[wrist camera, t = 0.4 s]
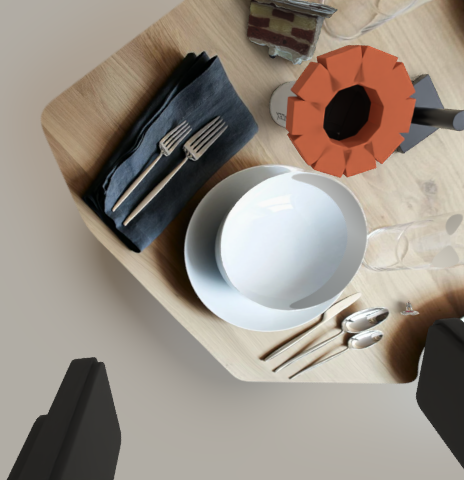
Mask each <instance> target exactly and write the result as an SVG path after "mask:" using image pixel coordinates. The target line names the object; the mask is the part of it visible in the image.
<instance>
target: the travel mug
mask: <svg viewBox="0 0 464 480" xmlns="http://www.w3.org/2000/svg"><path fill="white" fill-rule="evenodd" d="M295 83H296V81H295V82H287V83H284V84H282V85H280V86H279V87H278V88H277V89H276V90H275V91H274V92H273V94H272V96H271V99H270V103H269V109H270V114H271V116H272V118H273V120H274V121H275V122H276V123H277V124H279V125H280V126H282V127H285V128H286V115H287V100H288V97H289V96H297V95H295V94H294V93H293V92H292V91H291V88H292V87H293V85H294V84H295ZM370 106H371V101H370V99H369V97H368V95H367V93H366V91H365V89H364V87H363V86H360V85H358V84H356V85H353V86H351V87H348V88H345V89H342V90H339V91H338V92H337V93H336V95H335V96H334V97H333V98H332V100H331V101H330V102H329V104H328V105H327V106H326V107H325V113H324V122H323V129H324V130H325V132H326V134H327V135H328V137H329V138H331V139H334V140H338V141H340V140H343V139H346V138H349V137H352V136H355V135H356V134H357V133H358V132H359V131H360V130H361V128H362V127H363V126H364V125H365V124H366V122H367V121H368V118H369V112H370Z"/></svg>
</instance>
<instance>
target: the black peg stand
mask: <svg viewBox="0 0 464 480" xmlns="http://www.w3.org/2000/svg"><path fill="white" fill-rule="evenodd" d="M412 85H413V87H414V89H415V93H414V94H412V95H411V96H409V97H411V98H414V99H416V102H415V106H414V111H413V115H412V119H411V124H410V128H409V132H408V133H399V134H400V135H401V136H402V137H404V141H403V142H402V143H401V144H400V145H399V146H398V147H397V150H398V152H400V153H405V152H407V151H408V150H409V149H411V148H412V147H414V146H415V145H416V144H418V143H419V142H421V141H422V140H423V139H425V138H426V137H428V136H429V135H430V134H432V133H433V132H435V131H436V130H437V129H439V128H443V129H450V130H456V131H462V130H464V110H453V109H444V107H443V105H442V103H441V101H440V98H439V96H438V94H437V92H436V89H435V87H434V85H433V83H432V81H431V78H430V76H429V74H425V75H421V76H420V77H419V78H417V79H416V80H415V81H413V82H412Z"/></svg>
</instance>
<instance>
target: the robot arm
mask: <svg viewBox="0 0 464 480" xmlns="http://www.w3.org/2000/svg"><path fill="white" fill-rule="evenodd" d="M416 399H417V403H418V405H419V407H420V409H421V410H422V411H423V413H424V414H425V416H426V417H427V419H428V420H429V421H430V423H431V424H432V425H433V427H434V428H435V429H436V431H437V432H438V434H439V435H440V436H441V438H442V439H443V440H444V442H445V444H446V445H447V446H448V448H449V449H450V450H451V452H452V453H453V455H454V456H455V457H456V459H457V460H458V462H459V463H460V464H461V466H462V467H463V468H464V322H463V321H462V320H460V319H458V318H450V319H441V320H436V321H435V322H434V323H433V326H430V327H429V330H428V334H427V340H426V345H425V350H424V355H423V361H422V366H421V371H420V376H419V382H418V388H417V392H416ZM120 445H121V431H120V427H119V423H118V419H117V414H116V410H115V406H114V402H113V398H112V394H111V390H110V385H109V381H108V377H107V373H106V369H105V365H104V363H103V362H98V361H97V359H96V358H95V357H92V358H82V359H74V360H72V362H71V363H70V366H69V368H68V370H67V372H66V375H65V377H64V379H63V381H62V383H61V386H60V388H59V390H58V392H57V394H56V397H55V399H54V401H53V403H52V406H51V408H50V410H49V412H48V414H47V415H41V416H39V417H38V418H37V420H36V421H35V423H34V425H33V427H32V429H31V431H30V433H29V435H28V437H27V439H26V441H25V443H24V445H23V448H22V450H21V452H20V454H19V456H18V458H17V460H16V462H15V464H14V466H13V468H12V470H11V472H10V474H9V477H8V479H7V480H113V479H114V475H115V470H116V465H117V460H118V455H119V450H120Z"/></svg>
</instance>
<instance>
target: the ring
mask: <svg viewBox="0 0 464 480" xmlns="http://www.w3.org/2000/svg"><path fill="white" fill-rule="evenodd" d="M397 59H398V57H395V56H393V55H390V54H388V53H385V52H383V51H380V50H378V49H375V48H373V47H370V46H362V45H348V46H345V47H342V48H339V49H337V50H334V51H331V52H328V53H326V54H323V55H320V56H318V57H317V62H318V63H315V62H310V63H309V65H308V66H307V67H306V69H305V70H304V72H303V73H302V74H301V76H300V77H299V78H298V80H297V81H296V83H295V84H294V85H293V87H292V88H291V91H292V92H293V93H294V94H295V95H297V96H289V97H288V100H287V115H286V129H287V130H288V131H289V133H288V134H287V135H288V137H289V138H290V140H291V141H292V143H293V145H294V146H295V148H296V149H297V151H298V152H299V154H300V155H301V157H302V158H303V159H304V161H305V162H306V163H307V164H308V165H309V166H310V165H311V167H312V168H313V169H314V170H317V171H320V172H323V173H327V174H330V175H333V176H337V177H340V178H341V176H342V174H344V175H345V176H346V177H350V176H353V175H356V174H359V173H362V172H365V171H368V170H371V169H374V168H376V161H375V160H377V161H378V162H380V163H381V164H383V163H384V161H385V160H386V159H387V158H388V157H389V156H390V155H391V154H392V153H393V152H394V150H395V149H396V148H397V147H398V146H399V145H400V144H401V143H402V142H403V141H404V137H402V136H401V135H400V134H399V133H408V132H409V128H410V124H411V119H412V115H413V111H414V106H415V102H416V99H414V98H411V97H409V96H411V95H412V94H414V93H415V89H414V87H413V85H412V82H411V80H410V78H409V75H408V73H407V71H406V69H405V66H404V64H403V63H402V62H396V61H397ZM356 84H358V85H360V86H363V87H364V89H365V91H366V93H367V95H368V97H369V99H370V101H371V106H370V112H369V118H368V121H367V122H366V124H365V125H364V126H363V127H362V128H361V130H360V131H359V132H358V133H357V134H356V135H355V136H352V137H349V138H346V139H343V140H340V141H338V140H334V139H331V138H329V137H328V135H327V134H326V132H325V130H324V129H323V122H324V113H325V107H326V106H327V105H328V104H329V102H330V101H331V100H332V98H333V97H334V96H335V95H336V93H337V92H338V91H339V90H342V89H345V88H348V87H351V86H353V85H356Z"/></svg>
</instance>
